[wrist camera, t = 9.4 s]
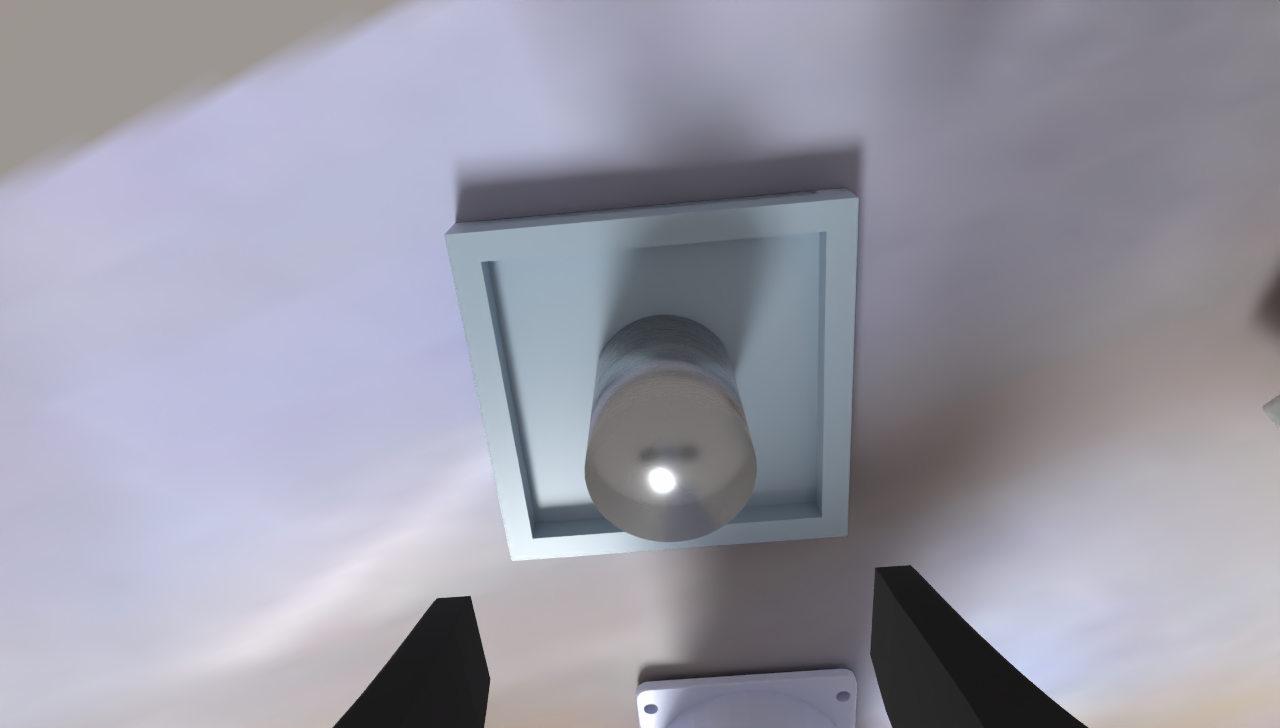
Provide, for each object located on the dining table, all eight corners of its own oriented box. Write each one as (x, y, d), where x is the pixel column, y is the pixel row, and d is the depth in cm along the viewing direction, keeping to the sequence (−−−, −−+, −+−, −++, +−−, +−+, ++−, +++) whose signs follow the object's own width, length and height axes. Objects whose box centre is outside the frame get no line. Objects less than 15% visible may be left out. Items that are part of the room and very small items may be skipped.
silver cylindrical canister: (733, 433, 23) (757, 537, 18) (602, 441, 23) (592, 546, 18) (731, 310, 21) (756, 390, 16) (589, 319, 21) (575, 401, 16)
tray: (838, 513, 24) (847, 536, 23) (516, 536, 25) (511, 560, 24) (846, 187, 20) (858, 197, 19) (455, 223, 20) (444, 234, 19)
